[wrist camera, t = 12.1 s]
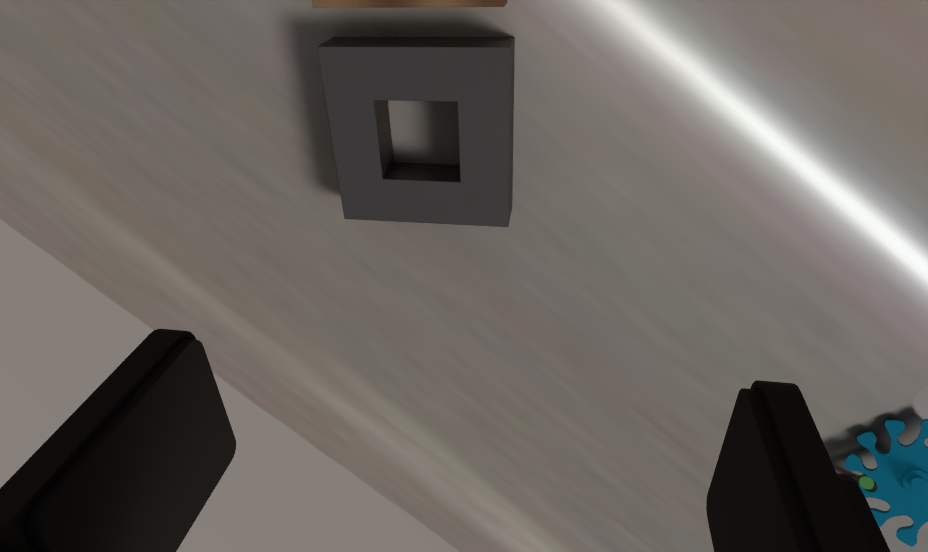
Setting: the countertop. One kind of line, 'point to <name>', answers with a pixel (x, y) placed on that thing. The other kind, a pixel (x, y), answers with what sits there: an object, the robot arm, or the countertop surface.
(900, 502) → the gear
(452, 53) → the grey square frame
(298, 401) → the countertop surface
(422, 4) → the board
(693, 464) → the countertop surface
